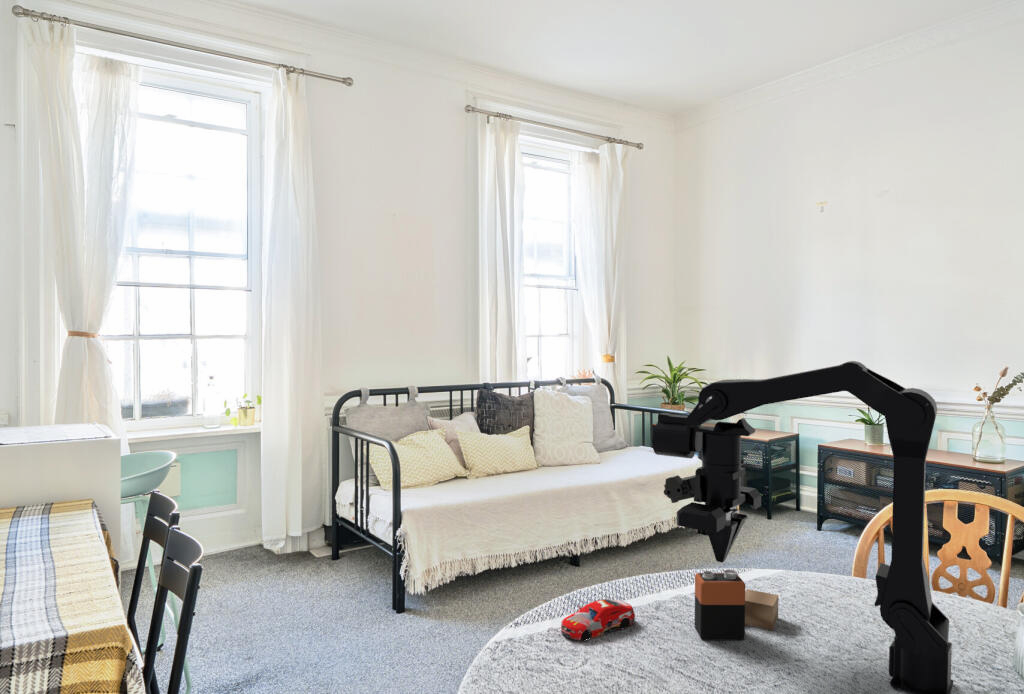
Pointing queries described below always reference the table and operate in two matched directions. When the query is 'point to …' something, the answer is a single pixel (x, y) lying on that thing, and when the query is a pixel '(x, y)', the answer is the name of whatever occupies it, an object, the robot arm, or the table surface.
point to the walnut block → (761, 609)
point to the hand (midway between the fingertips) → (720, 561)
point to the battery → (720, 605)
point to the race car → (598, 619)
